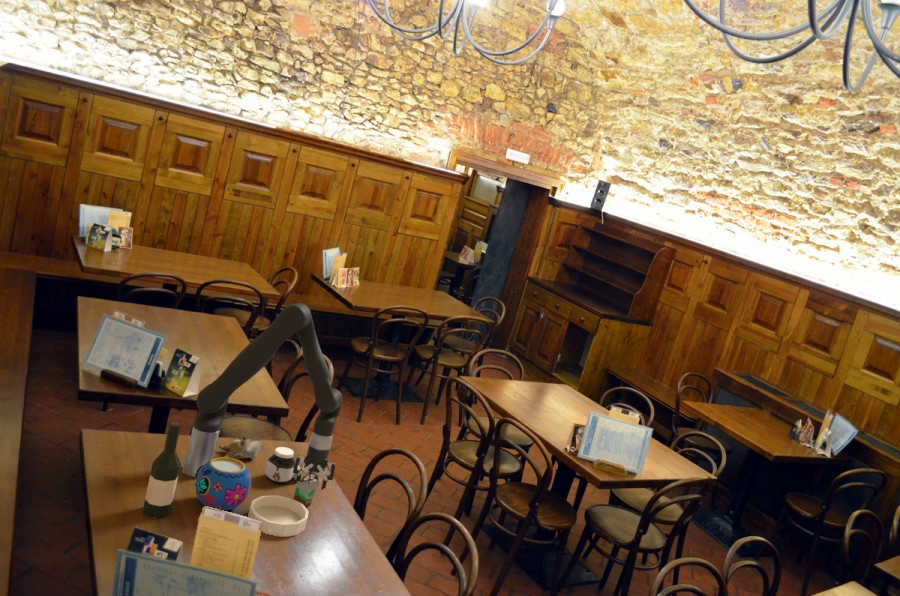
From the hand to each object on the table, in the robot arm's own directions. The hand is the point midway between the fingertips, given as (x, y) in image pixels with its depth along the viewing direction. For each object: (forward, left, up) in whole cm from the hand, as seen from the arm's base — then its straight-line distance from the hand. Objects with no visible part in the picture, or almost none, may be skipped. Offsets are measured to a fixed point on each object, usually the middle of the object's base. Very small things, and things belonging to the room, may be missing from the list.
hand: (310, 486), depth 259 cm
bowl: (-8, -16, -7) cm, 19 cm away
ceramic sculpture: (-29, +27, -7) cm, 40 cm away
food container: (0, 0, -7) cm, 7 cm away
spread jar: (-10, +16, -7) cm, 20 cm away
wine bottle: (-45, -24, -7) cm, 52 cm away
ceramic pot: (-28, -13, -7) cm, 32 cm away
